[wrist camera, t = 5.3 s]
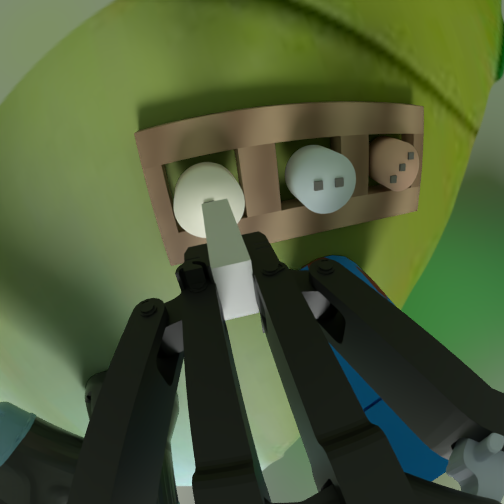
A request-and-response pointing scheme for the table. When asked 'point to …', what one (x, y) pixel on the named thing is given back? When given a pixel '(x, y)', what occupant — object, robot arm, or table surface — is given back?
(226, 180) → the button one
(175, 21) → the table surface
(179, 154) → the board
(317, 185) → the button two
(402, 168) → the button three
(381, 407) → the thermos
